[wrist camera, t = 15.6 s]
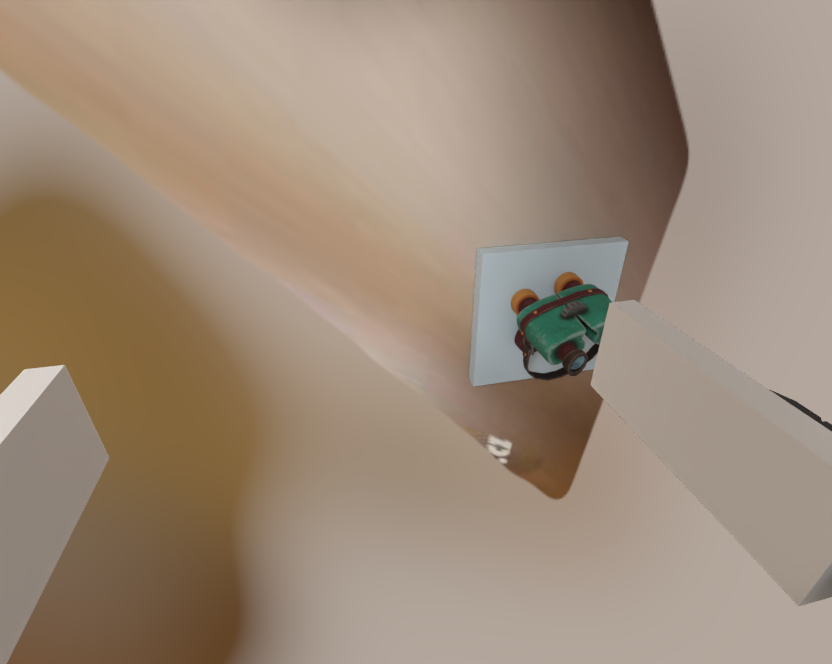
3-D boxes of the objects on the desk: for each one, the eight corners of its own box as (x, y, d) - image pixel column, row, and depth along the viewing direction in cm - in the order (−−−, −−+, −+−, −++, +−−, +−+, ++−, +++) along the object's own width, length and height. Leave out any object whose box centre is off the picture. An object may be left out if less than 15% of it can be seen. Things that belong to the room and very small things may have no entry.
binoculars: (561, 434, 40) (552, 355, 34) (512, 362, 49) (498, 288, 43) (651, 398, 41) (659, 313, 34) (587, 332, 49) (584, 255, 43)
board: (477, 248, 42) (482, 253, 41) (619, 236, 45) (628, 241, 43) (468, 378, 49) (473, 386, 48) (591, 361, 52) (598, 368, 51)
